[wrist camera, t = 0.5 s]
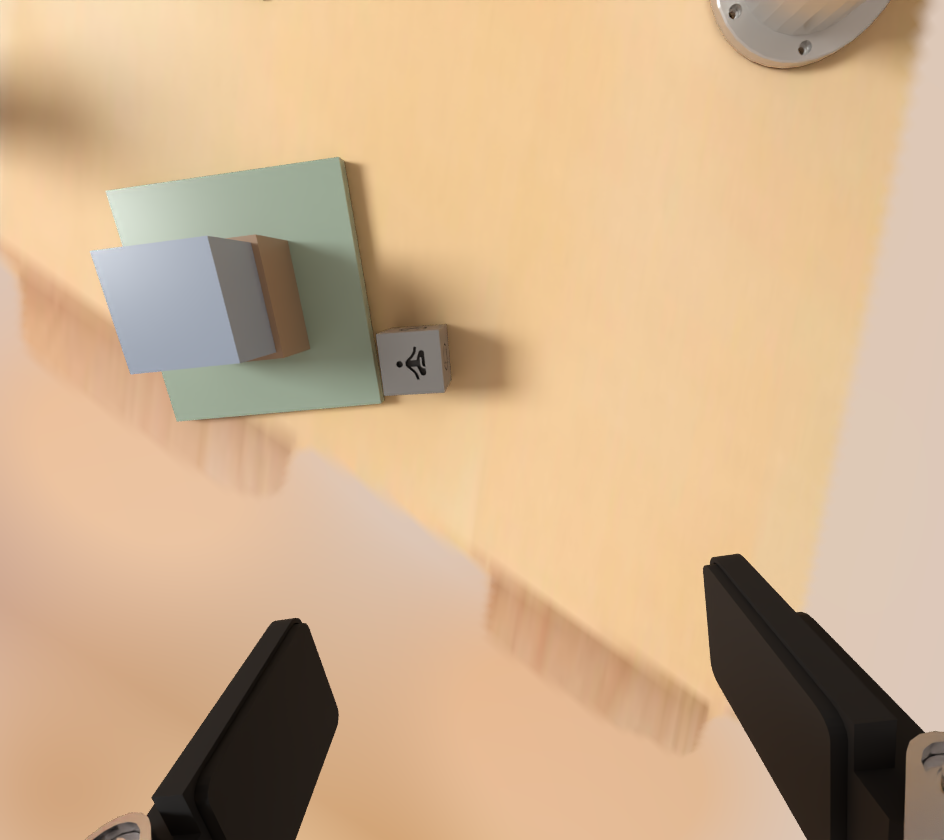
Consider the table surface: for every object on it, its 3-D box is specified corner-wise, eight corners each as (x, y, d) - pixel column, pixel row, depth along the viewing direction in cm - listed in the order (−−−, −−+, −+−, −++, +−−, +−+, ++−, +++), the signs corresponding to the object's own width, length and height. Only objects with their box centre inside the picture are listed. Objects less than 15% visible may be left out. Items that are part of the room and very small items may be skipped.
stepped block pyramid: (117, 193, 38) (-34, 158, 27) (344, 160, 36) (276, 109, 25) (185, 417, 44) (82, 461, 33) (384, 400, 42) (343, 440, 31)
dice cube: (451, 379, 41) (444, 392, 36) (398, 382, 41) (384, 395, 37) (446, 324, 39) (438, 329, 35) (391, 327, 40) (375, 334, 35)
